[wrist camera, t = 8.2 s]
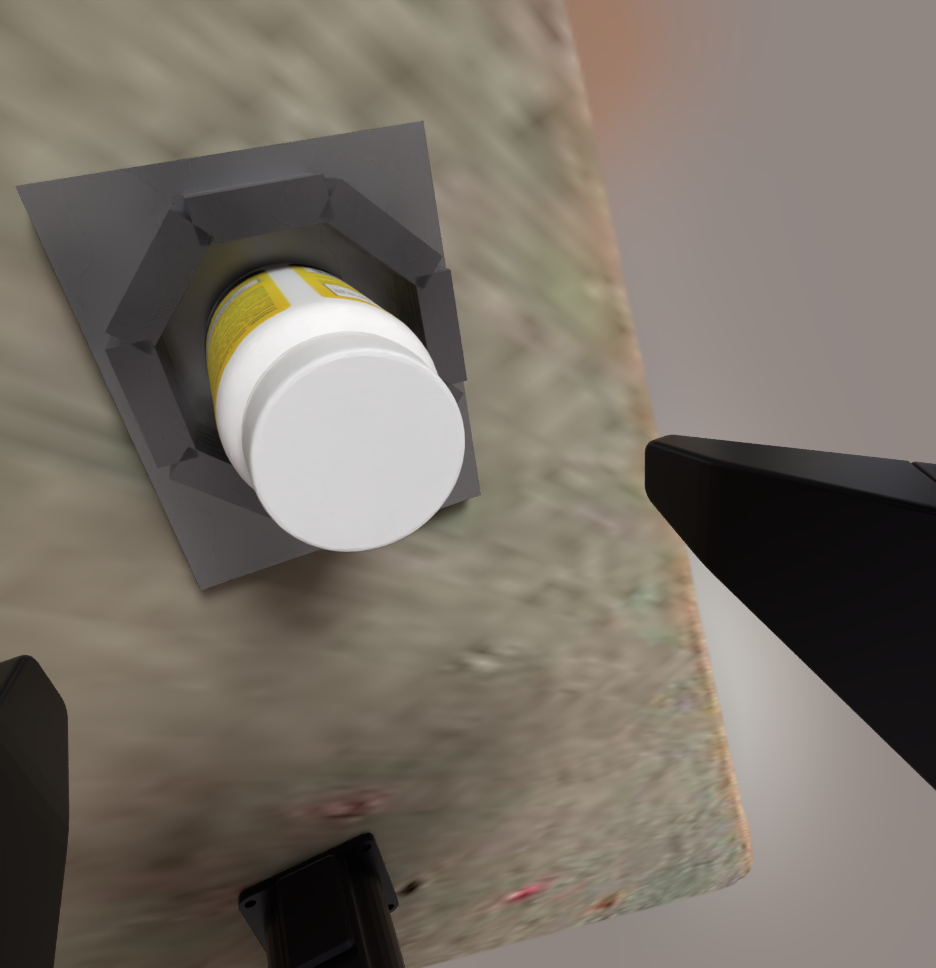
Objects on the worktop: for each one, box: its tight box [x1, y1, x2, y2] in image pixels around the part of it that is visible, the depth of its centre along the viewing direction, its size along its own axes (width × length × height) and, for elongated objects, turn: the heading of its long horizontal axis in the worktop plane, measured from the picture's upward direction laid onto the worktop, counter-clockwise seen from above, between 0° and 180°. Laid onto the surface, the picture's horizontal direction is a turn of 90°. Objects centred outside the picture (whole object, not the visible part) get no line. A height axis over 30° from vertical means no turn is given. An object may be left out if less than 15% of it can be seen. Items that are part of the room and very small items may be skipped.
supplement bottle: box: [205, 263, 465, 552], centre depth 15 cm, size 5×5×8 cm
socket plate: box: [16, 121, 481, 590], centre depth 18 cm, size 12×10×4 cm
